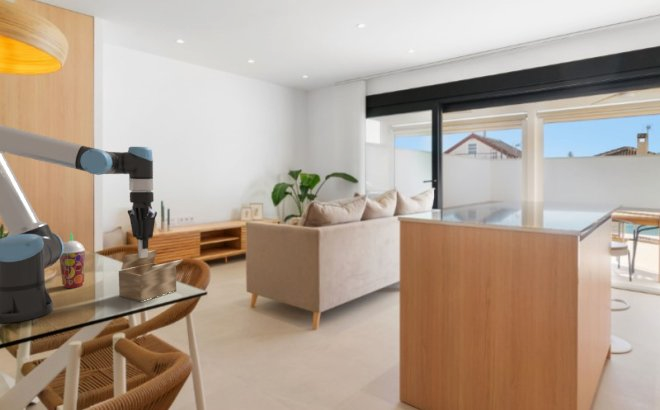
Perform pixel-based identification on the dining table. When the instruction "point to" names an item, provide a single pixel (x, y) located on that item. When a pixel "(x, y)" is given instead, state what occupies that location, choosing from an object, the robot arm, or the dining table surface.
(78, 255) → the smoothie
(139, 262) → the far flap
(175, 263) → the near flap
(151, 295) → the carton
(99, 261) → the dining table surface
